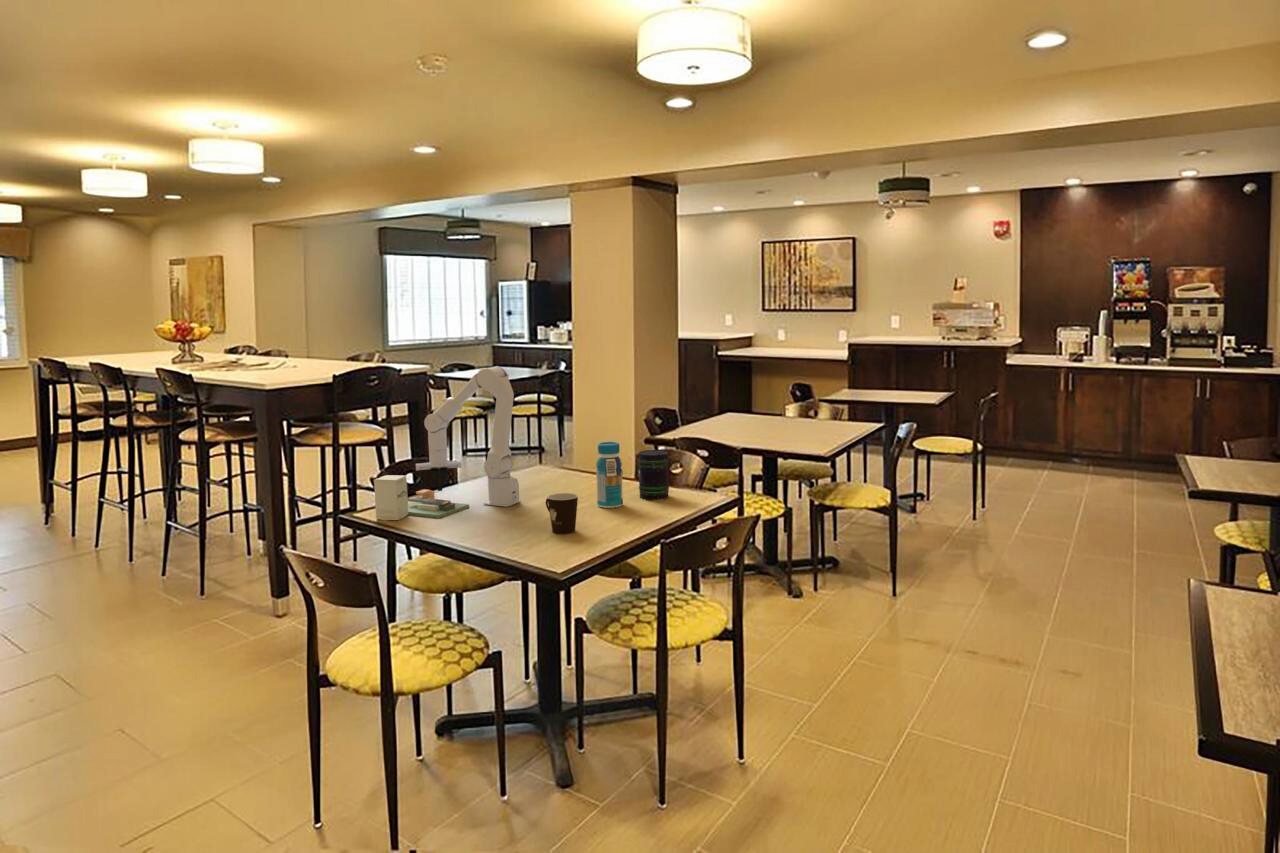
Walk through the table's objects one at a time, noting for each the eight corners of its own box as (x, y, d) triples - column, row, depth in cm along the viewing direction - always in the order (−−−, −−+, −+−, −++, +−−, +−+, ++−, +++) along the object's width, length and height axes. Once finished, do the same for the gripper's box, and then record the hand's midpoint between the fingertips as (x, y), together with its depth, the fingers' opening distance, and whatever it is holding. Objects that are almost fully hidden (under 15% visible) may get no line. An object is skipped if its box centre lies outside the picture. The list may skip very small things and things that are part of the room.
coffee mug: (582, 533, 237) (581, 498, 236) (551, 536, 235) (550, 501, 234) (573, 523, 248) (572, 490, 247) (544, 526, 246) (542, 492, 245)
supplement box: (398, 521, 255) (395, 480, 254) (375, 520, 257) (372, 479, 255) (409, 515, 262) (407, 475, 261) (387, 514, 264) (384, 474, 262)
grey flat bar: (450, 503, 267) (450, 500, 267) (443, 505, 263) (443, 503, 263) (414, 498, 273) (414, 496, 273) (407, 501, 270) (406, 498, 270)
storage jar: (633, 496, 282) (632, 452, 280) (656, 492, 288) (655, 448, 285) (651, 501, 274) (650, 456, 272) (675, 497, 280) (674, 452, 278)
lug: (434, 501, 276) (434, 489, 276) (424, 504, 272) (423, 492, 271) (427, 500, 278) (426, 488, 277) (416, 503, 273) (415, 491, 272)
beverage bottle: (591, 507, 268) (590, 444, 265) (605, 501, 275) (603, 440, 273) (615, 509, 264) (613, 446, 261) (628, 503, 272) (626, 442, 269)
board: (469, 507, 271) (468, 500, 271) (438, 518, 258) (438, 510, 257) (424, 502, 279) (423, 495, 278) (392, 513, 265) (392, 505, 265)
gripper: (415, 453, 273) (417, 494, 275) (461, 450, 277) (463, 491, 279) (415, 449, 280) (417, 489, 282) (459, 447, 284) (461, 486, 286)
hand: (439, 490), depth 281 cm, fingers closed
